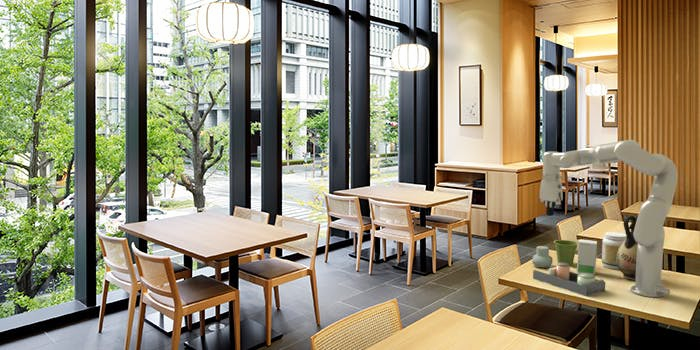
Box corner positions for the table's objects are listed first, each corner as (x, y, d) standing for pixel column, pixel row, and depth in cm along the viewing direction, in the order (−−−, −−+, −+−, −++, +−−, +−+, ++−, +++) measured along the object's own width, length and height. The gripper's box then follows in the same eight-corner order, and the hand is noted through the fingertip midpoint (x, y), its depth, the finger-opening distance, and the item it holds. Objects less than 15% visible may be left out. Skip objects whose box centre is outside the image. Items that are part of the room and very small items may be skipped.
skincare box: (576, 272, 244) (577, 241, 243) (577, 269, 250) (578, 238, 248) (595, 275, 240) (596, 243, 239) (596, 271, 246) (597, 240, 244)
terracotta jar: (571, 283, 229) (572, 264, 228) (563, 285, 226) (564, 266, 225) (561, 280, 234) (561, 261, 233) (553, 282, 231) (553, 263, 230)
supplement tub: (620, 263, 259) (621, 231, 258) (633, 270, 247) (635, 236, 245) (596, 263, 259) (598, 231, 258) (609, 270, 247) (610, 237, 245)
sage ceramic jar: (597, 292, 217) (598, 277, 216) (582, 292, 216) (583, 277, 215) (588, 287, 224) (589, 272, 223) (573, 287, 223) (574, 272, 222)
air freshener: (536, 262, 263) (537, 244, 262) (553, 264, 258) (553, 246, 257) (531, 267, 254) (531, 248, 253) (548, 270, 249) (548, 250, 248)
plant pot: (579, 262, 262) (579, 241, 261) (575, 268, 252) (576, 246, 251) (555, 259, 268) (555, 238, 267) (551, 264, 258) (551, 243, 257)
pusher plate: (564, 278, 235) (564, 266, 234) (550, 282, 230) (550, 269, 229) (554, 275, 239) (555, 263, 238) (541, 279, 234) (541, 266, 234)
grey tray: (605, 290, 219) (605, 279, 218) (586, 296, 212) (586, 284, 212) (551, 274, 243) (551, 264, 242) (533, 278, 237) (533, 268, 236)
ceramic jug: (631, 271, 246) (634, 211, 242) (660, 280, 231) (664, 216, 228) (605, 275, 240) (607, 214, 236) (633, 285, 225) (636, 220, 222)
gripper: (569, 178, 233) (568, 216, 235) (543, 175, 246) (542, 212, 248) (559, 179, 230) (558, 218, 232) (532, 176, 243) (531, 213, 245)
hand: (549, 215), depth 240 cm, fingers closed
